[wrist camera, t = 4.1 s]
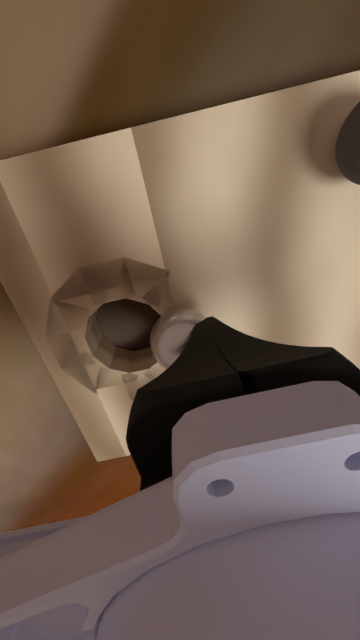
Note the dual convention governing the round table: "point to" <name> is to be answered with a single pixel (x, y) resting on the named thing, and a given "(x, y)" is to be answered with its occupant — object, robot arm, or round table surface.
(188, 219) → the plate
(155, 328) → the steel ball
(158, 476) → the robot arm
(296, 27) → the round table surface
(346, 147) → the black rubber ball
